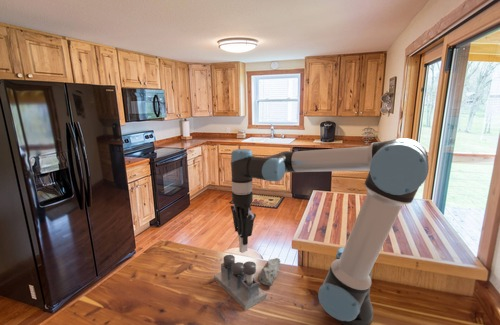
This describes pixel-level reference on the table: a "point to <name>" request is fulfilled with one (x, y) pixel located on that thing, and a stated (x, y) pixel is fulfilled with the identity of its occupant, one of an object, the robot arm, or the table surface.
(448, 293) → the table surface
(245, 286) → the square socket rack
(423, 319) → the table surface
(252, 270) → the knob
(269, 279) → the rock
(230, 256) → the knob
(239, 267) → the knob
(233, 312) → the table surface
